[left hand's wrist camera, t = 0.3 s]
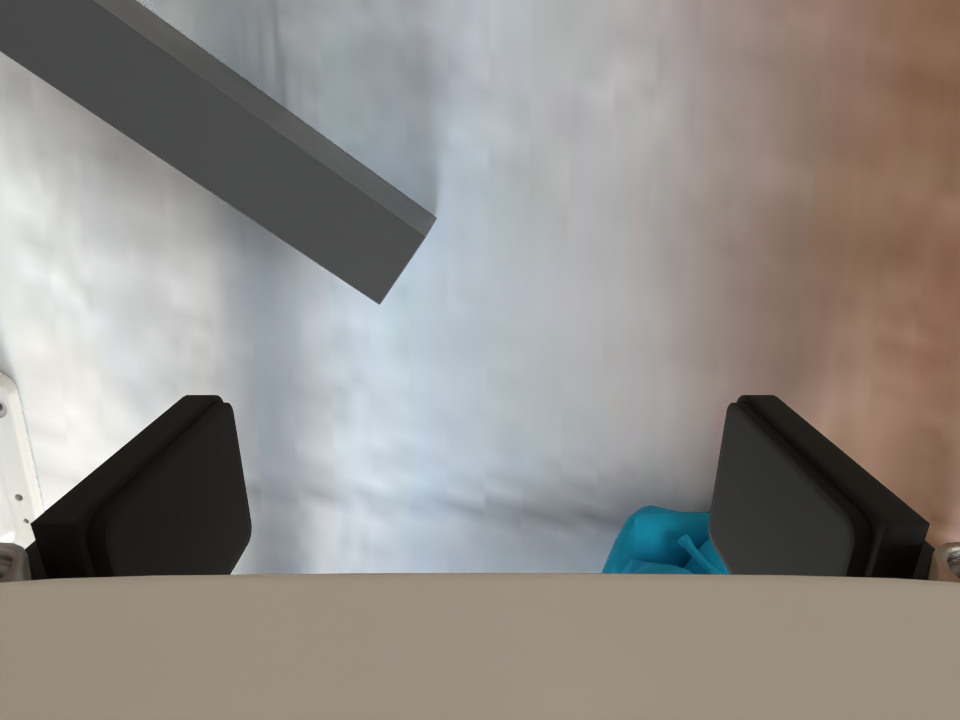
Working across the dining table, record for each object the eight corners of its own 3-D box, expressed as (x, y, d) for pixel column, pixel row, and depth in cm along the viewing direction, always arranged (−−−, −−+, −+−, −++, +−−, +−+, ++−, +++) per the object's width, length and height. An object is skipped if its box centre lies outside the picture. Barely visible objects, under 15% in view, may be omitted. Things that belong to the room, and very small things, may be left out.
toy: (919, 727, 47) (598, 745, 37) (820, 622, 56) (543, 615, 46) (1043, 564, 41) (702, 536, 31) (910, 477, 50) (616, 436, 41)
